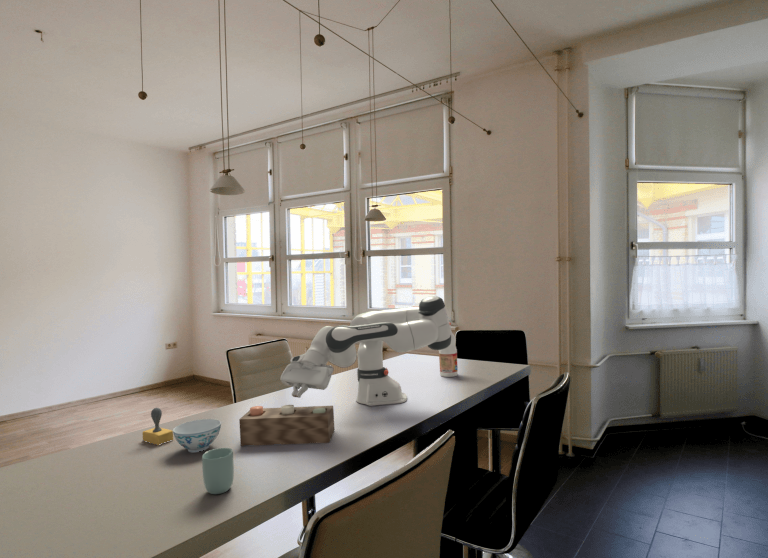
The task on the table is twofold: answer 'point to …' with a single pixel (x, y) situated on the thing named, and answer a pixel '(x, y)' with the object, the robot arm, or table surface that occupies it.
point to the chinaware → (197, 434)
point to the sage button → (319, 410)
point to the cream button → (287, 409)
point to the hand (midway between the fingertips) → (295, 396)
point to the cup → (218, 470)
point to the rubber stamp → (157, 430)
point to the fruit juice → (449, 358)
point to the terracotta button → (256, 410)
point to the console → (287, 426)
